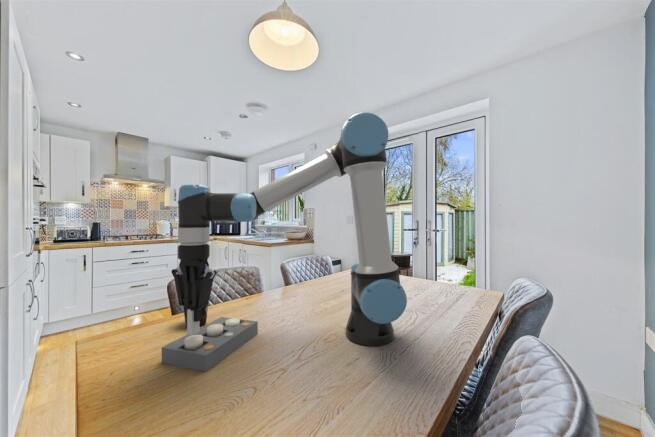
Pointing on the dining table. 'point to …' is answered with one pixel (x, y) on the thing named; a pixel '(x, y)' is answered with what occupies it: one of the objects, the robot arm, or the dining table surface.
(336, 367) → the dining table surface
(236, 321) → the button
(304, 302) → the dining table surface
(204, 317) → the coffee mug
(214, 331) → the button
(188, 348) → the button
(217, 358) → the button board
